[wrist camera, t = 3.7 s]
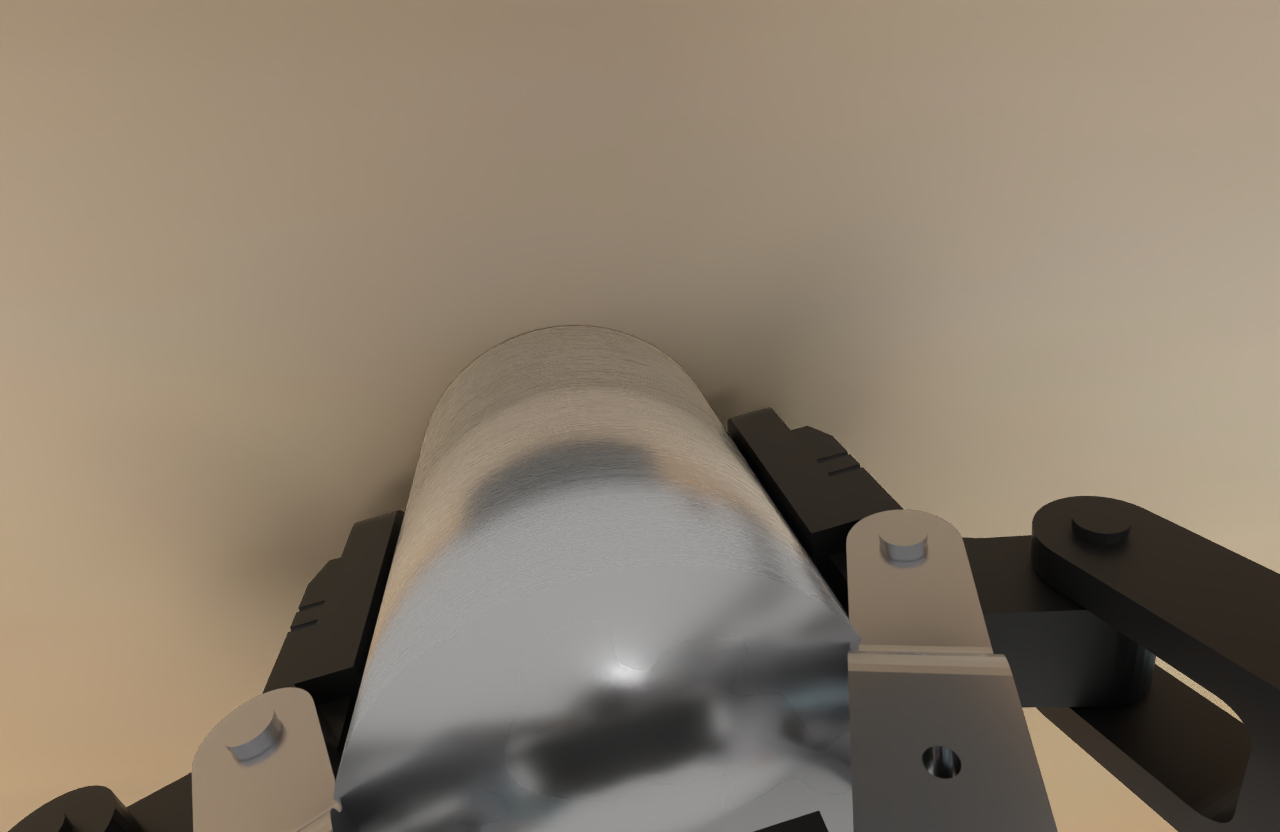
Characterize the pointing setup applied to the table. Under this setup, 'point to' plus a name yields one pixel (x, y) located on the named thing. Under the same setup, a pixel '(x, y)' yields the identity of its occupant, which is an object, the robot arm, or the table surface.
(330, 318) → the table surface
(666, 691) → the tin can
